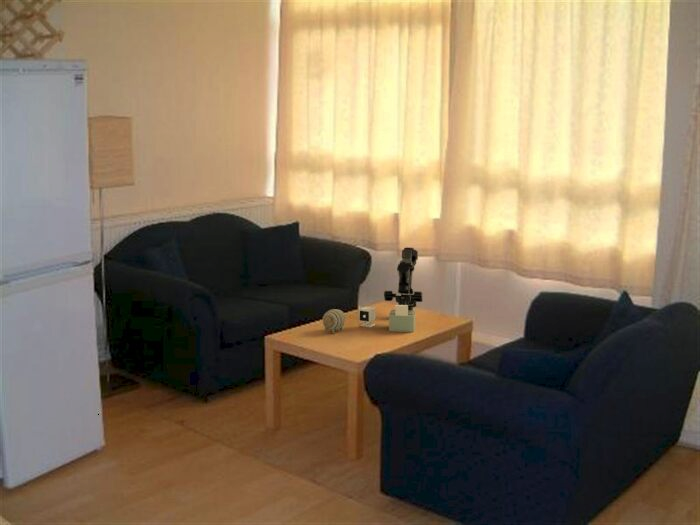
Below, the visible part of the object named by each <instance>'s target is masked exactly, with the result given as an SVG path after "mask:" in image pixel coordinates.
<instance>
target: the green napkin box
mask: <svg viewBox="0 0 700 525" xmlns="http://www.w3.org/2000/svg"><path fill="white" fill-rule="evenodd" d="M389 315H395V309H391V310H390V312H389ZM389 315H388V316H389ZM408 315H412V316H414V330H415V328H416V311H415V310H414V309H413V310H408Z"/></svg>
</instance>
